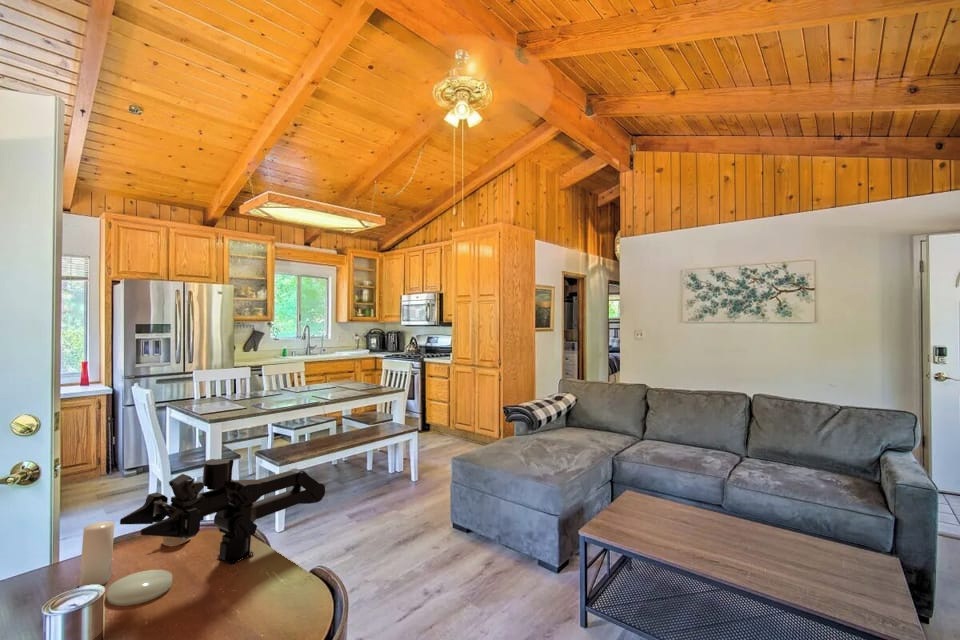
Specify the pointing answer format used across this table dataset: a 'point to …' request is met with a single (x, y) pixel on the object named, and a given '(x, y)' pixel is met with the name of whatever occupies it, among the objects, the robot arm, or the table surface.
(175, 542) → the decorative ornament
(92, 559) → the tall beige pillar
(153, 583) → the sage dish
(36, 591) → the table surface
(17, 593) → the table surface
